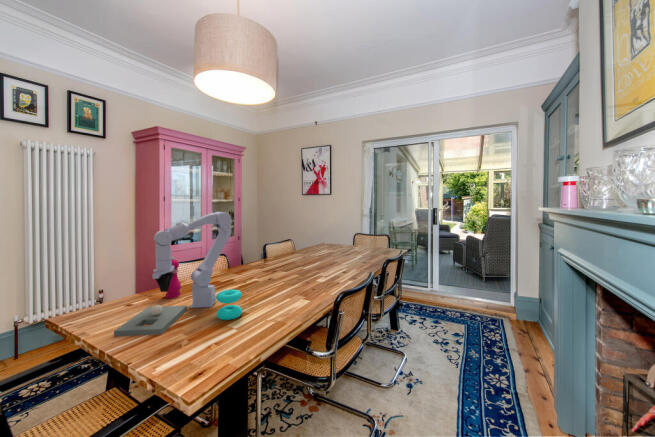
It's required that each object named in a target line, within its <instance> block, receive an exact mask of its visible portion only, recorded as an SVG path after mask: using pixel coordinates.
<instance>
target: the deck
mask: <svg viewBox="0 0 655 437" xmlns="http://www.w3.org/2000/svg"><path fill="white" fill-rule="evenodd" d="M161 306H162V305H161ZM152 307H153V306H147V307H145V308H144V309H143V310H141V311H140V312H139V313H137V314H136V315H135V316H133V317H132V318H130V319H129V320H127V321H126V322H124V323H122V324H121V325H119V327H117V328H116V329H114V330H113V336H114V337H130V336H152V335H153V336H157V335H163V334H164V333H165V332H166V331H168V329H169V328H170V327H171V326H172V325H174V324H175V322H176V321H178V319H180V318H181V316H183V315H184V314H185V313H186V312H187V311H188V305H166V306H162V308H163V310H162V312H161V313H160V314H159V315H153V314H152V313H151V308H152Z"/></svg>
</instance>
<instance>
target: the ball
mask: <svg viewBox="0 0 655 437" xmlns="http://www.w3.org/2000/svg"><path fill="white" fill-rule="evenodd" d="M151 307H152V308H151V313H152V314H153V315H159V314H160V313H161V312H162V310H163V308H162V305H161V304H155V305H153V306H151Z"/></svg>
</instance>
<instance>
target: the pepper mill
mask: <svg viewBox="0 0 655 437" xmlns="http://www.w3.org/2000/svg"><path fill="white" fill-rule="evenodd" d="M171 262H172V266H174V270H172V271H171V272H170V273H172V272H173V273H174V275H173V277H172V279H171V282H170V286H169V290H168V291H166V293H165V298H167V299H175V298H178V297H180V296H181V291H180V290H181V289H182V284H181V281H180V280H179V277H178V272H179V269H178V268H179V266H180V263H179V260H176V259H175V258H174V256H171Z"/></svg>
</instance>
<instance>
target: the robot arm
mask: <svg viewBox="0 0 655 437" xmlns="http://www.w3.org/2000/svg"><path fill="white" fill-rule="evenodd" d="M232 223H233V219H232V216H231V215H230V214H229V212H226V211H215V212H212V213H208V214H205V215H203V216H201V217H199V218H196V219H195V220H192V221H190V222H188V223H184V222H177V223H175V225H173V226H170V227H165V228H164V230H159V231H156V233H155V234H154V235H153V238H152V239H153V241H154V242H155V245H154V246H155V249H154V251H155V252H154V254H155V269H153V271H152V272H153V273H152V279H153V280H155V281H156V283H157V285H158V287H159V290H160V293H165V292H166V291H168V290H169V286H170V282H171V279H172V277H173V275H174V273H173V272H172V273H170V272H171V271H172V270H174V266H172V262H171V257H172V247H171V243H172V242H173V241H177V240H178V239H180V238H183V237H185V236H188V235H190V231H192V230H194V229H197V228H200V227H203V226H204V225H205V226H206V225H209V224H211V225H214V226H215V227H216V229H217V231H218V234H217V236H216V237H215V239H214V241H213V243H212V245H211V247H210V248H209V250H208V252H207V254H206V255H205V256H204V258H203V260H202V262H201V263H200V264H199V265H198V266H197V268H196V269H195V270H193V271H192V272H191V274H190V279H191V281H192V282H193V283H192V285H191V290H192V291H191V292H192V294H191V295H192V304H190V305H189V308H190V309H195V308H212V307H213V305H214V304H215V303H216V302H217V299H216V296H217V293H216V286H215V285H214V284H210V283H211V280H212V275H213V273H214V272H213V271H214V270H213V269H214V267H215V265H216V262H217V261H218V259H219V258H220V255H221V254H222V252H223V250H224V248H225V246H226V244H227V243H228V241H229V239H230V238H231V235H232ZM166 293H167V292H166Z"/></svg>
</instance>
